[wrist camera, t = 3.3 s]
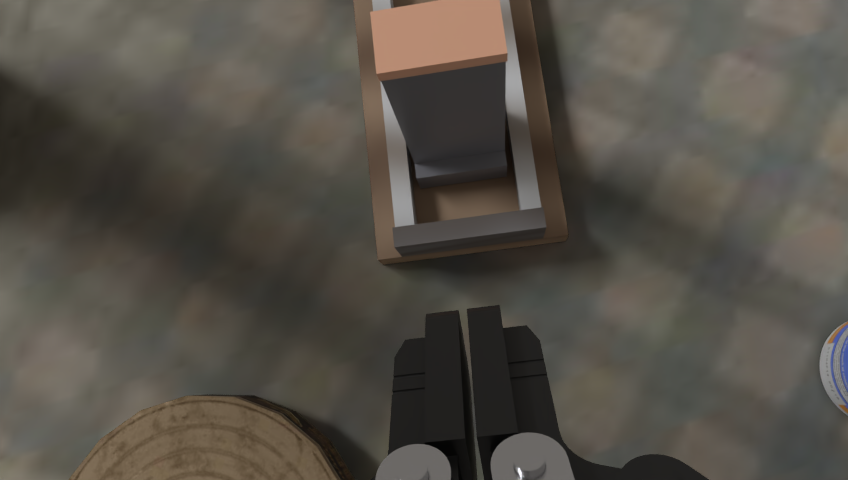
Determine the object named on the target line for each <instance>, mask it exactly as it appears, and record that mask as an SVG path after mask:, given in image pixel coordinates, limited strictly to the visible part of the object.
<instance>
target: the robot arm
mask: <svg viewBox="0 0 848 480" xmlns="http://www.w3.org/2000/svg"><path fill="white" fill-rule="evenodd" d="M467 315H468V328H469V340H470V353H471V366H472V379H473V392H474V405H475V417H476V430H477V440H478V445H479V451H480V457H481V463H482V469H483V474H484V480H709V479H707V478H706V477H704V476H703V475H701V474H700V473H698V472H697V471H695V470H694V469H692V468H691V467H689V466H688V465H686V464H685V463H683V462H681V461H680V460H677V459H675V458H672V457H669V456H665V455H658V454H650V455H643V456H640V457H637V458H634V459H632V460H631V461H629V462H628V463H627V464H626V465H625V466H624V467H623V468H622V469H620V468H614V467H609V466H603V465H599V464H595V463H591V462H589V461H586V460H584V459H582V458H580V457H579V456H577V455H576V454H574V453H573V452H572V451H571V450H570V449H569V448H568V447H567V446H566V444H565V443H564V441H563V440H562V438H561V435H560V432H559V428H558V423H557V418H556V414H555V409H554V404H553V400H552V395H551V391H550V386H549V381H548V377H547V372H546V367H545V363H544V358H543V354H542V349H541V344H540V340H539V339H538V338H537V337H536V336H535V334H534V333H533V332H532V331H531V330H530V329H529V328H528V327H527V325H526V326H517V327H509V328H503V326H502V319H501V313H500V306H499V305H496V306H488V307H480V308H471V309H467ZM371 480H477V469H476V455H475V442H474V428H473V414H472V401H471V387H470V378H469V370H468V363H467V357H466V351H465V345H464V339H463V333H462V327H461V321H460V315H459V311H458V310H456V311H448V312H440V313H431V314H426V328H425V338H417V339H409V340H405V341H404V343H403V344H402V346H401V348H400V349H399V351H398V353H397V354H396V356H395V362H394V379H393V395H392V407H391V422H390V436H389V450H388V456H387V457H386V458H385V459H384V460H383V461H382V463H381V464H380V466H379V468H378V470H377V474H376V475H375V476H374V477H373V478H372V479H371Z"/></svg>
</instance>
